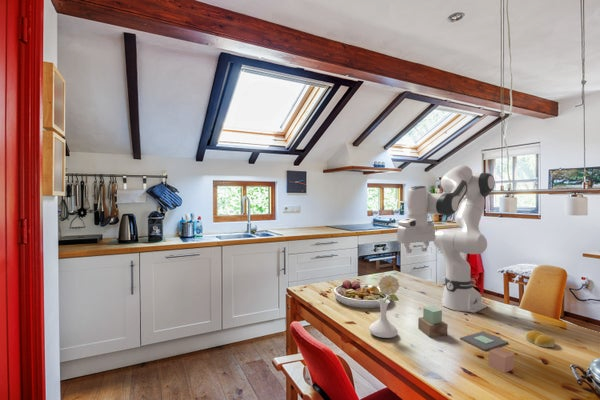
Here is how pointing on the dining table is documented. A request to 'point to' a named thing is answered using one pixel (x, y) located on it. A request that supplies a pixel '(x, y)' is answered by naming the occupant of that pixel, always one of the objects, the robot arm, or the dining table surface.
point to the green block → (432, 315)
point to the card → (484, 341)
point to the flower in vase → (385, 308)
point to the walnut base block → (432, 328)
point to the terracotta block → (501, 359)
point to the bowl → (359, 294)
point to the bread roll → (540, 339)
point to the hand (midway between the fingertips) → (416, 252)
